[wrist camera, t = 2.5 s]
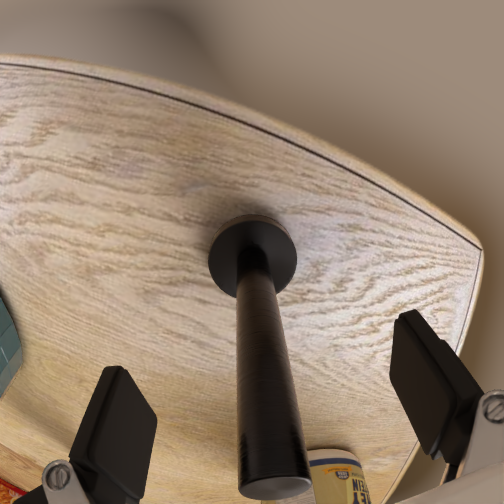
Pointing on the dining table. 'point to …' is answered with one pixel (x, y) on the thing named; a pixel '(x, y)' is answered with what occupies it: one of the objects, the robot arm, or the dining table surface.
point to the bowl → (8, 351)
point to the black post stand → (262, 357)
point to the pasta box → (9, 492)
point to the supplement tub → (332, 480)
